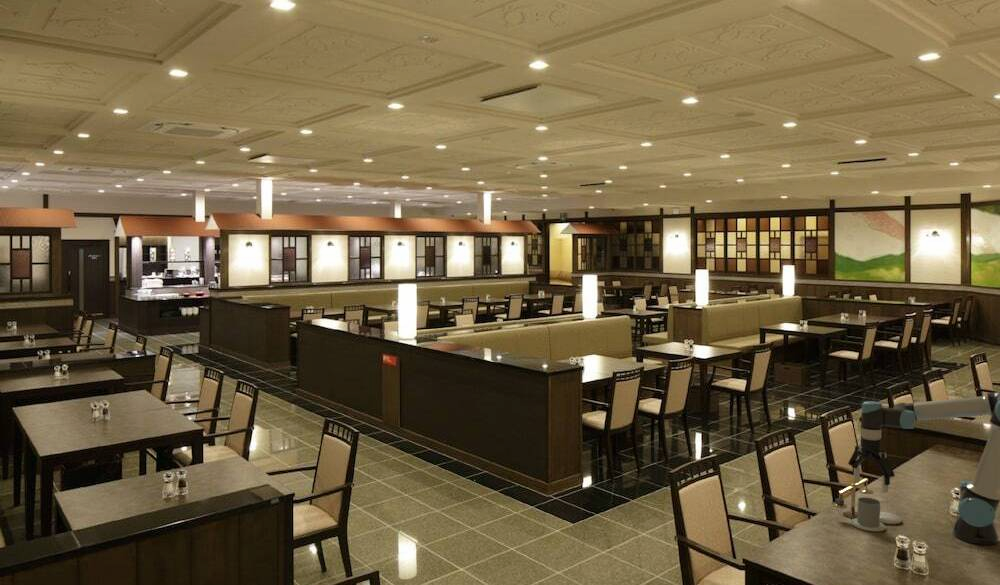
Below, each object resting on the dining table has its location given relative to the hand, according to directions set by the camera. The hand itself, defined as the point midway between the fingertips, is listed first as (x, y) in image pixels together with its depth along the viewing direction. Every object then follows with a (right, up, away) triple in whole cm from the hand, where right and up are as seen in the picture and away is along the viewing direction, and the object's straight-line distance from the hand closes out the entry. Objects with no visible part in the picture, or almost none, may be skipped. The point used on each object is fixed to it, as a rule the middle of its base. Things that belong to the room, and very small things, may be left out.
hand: (870, 487), depth 290 cm
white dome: (+11, -17, +9) cm, 22 cm away
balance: (-1, -16, +13) cm, 21 cm away
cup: (0, -16, +1) cm, 16 cm away
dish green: (0, -17, +1) cm, 17 cm away
